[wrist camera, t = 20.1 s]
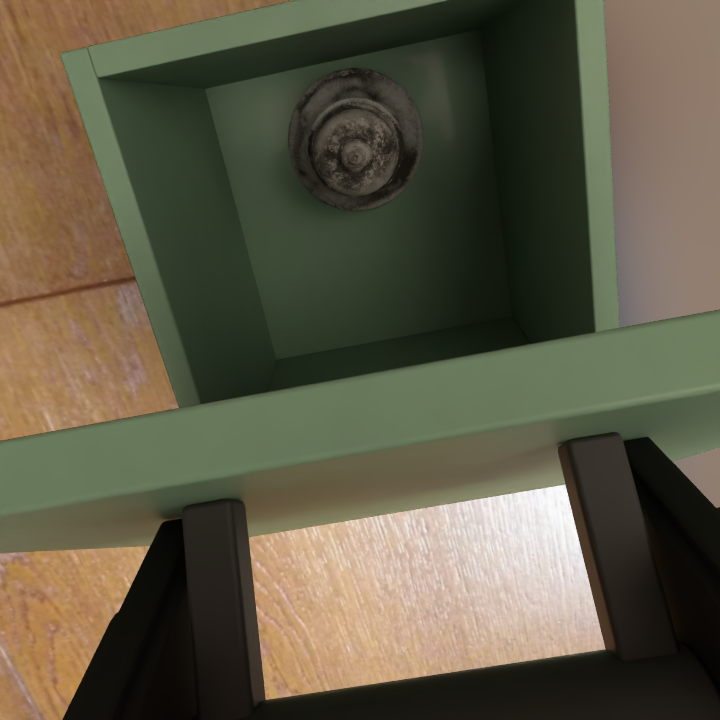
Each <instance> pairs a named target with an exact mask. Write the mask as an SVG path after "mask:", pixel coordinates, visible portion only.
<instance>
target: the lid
mask: <svg viewBox="0 0 720 720" xmlns="http://www.w3.org/2000/svg"><path fill="white" fill-rule="evenodd" d="M643 437H649V438H650V439H651V440H652V441H653V442H654V443H655V444H656V445H657V446H658V447H659V448H660V449H661V450H662V451H663V453H664V454H665V455H666V456H667V457H668V458H669V459H670V460H671V461H675V460H678V459H682V458H685V457H688V456H692V455H695V454H699V453H702V452H705V451H709V450H712V449H715V448H719V447H720V310H715V311H709V312H704V313H698V314H693V315H688V316H682V317H677V318H671V319H665V320H660V321H654V322H649V323H643V324H638V325H632V326H627V327H622V328H616V329H610V330H605V331H599V332H594V333H588V334H583V335H577V336H572V337H566V338H561V339H556V340H550V341H545V342H539V343H534V344H528V345H523V346H517V347H512V348H506V349H501V350H495V351H490V352H484V353H479V354H473V355H468V356H462V357H457V358H451V359H446V360H440V361H435V362H429V363H424V364H419V365H413V366H408V367H402V368H397V369H391V370H386V371H380V372H375V373H369V374H364V375H358V376H353V377H347V378H342V379H336V380H331V381H325V382H320V383H314V384H309V385H303V386H298V387H292V388H287V389H281V390H276V391H271V392H265V393H260V394H254V395H249V396H243V397H238V398H232V399H227V400H221V401H216V402H210V403H205V404H199V405H194V406H188V407H183V408H177V409H172V410H166V411H161V412H155V413H150V414H144V415H139V416H134V417H128V418H123V419H117V420H112V421H106V422H101V423H95V424H90V425H84V426H79V427H73V428H68V429H62V430H57V431H51V432H46V433H40V434H35V435H29V436H24V437H18V438H13V439H7V440H2V441H0V553H13V552H33V551H54V550H74V549H95V548H115V547H136V546H151V544H152V542H153V540H154V538H155V535H156V533H157V531H158V529H159V527H160V525H161V524H162V522H164V521H168V520H174V519H179V518H182V523H183V536H184V549H185V562H186V574H187V587H188V600H189V613H190V626H191V639H192V651H193V664H194V677H195V690H196V703H197V714H196V715H195V716H194V717H193V718H192V719H191V720H720V692H719V690H718V688H717V686H716V684H715V682H714V681H713V679H712V677H711V676H710V674H709V672H708V671H707V669H706V668H705V666H704V665H703V663H702V662H701V660H700V659H699V658H698V656H697V655H696V654H695V653H694V652H693V651H692V650H691V649H690V648H689V647H688V646H687V645H686V644H684V643H683V642H680V641H678V640H677V637H676V633H675V629H674V626H673V622H672V618H671V615H670V611H669V607H668V604H667V600H666V596H665V593H664V589H663V585H662V582H661V578H660V574H659V571H658V567H657V563H656V560H655V556H654V553H653V549H652V545H651V542H650V538H649V534H648V531H647V527H646V523H645V520H644V516H643V512H642V509H641V505H640V501H639V498H638V494H637V490H636V487H635V483H634V479H633V476H632V472H631V468H630V465H629V461H628V458H627V454H626V450H625V447H624V443H623V441H626V440H632V439H637V438H643ZM564 484H566V488H567V492H568V496H569V501H570V505H571V509H572V513H573V517H574V521H575V525H576V529H577V533H578V537H579V542H580V546H581V550H582V554H583V558H584V562H585V566H586V570H587V574H588V578H589V583H590V587H591V591H592V595H593V599H594V603H595V607H596V611H597V615H598V619H599V623H600V628H601V632H602V636H603V640H604V644H605V648H606V650H599V651H592V652H585V653H579V654H572V655H565V656H559V657H552V658H545V659H538V660H532V661H525V662H518V663H512V664H505V665H498V666H492V667H485V668H478V669H471V670H465V671H458V672H451V673H445V674H438V675H431V676H424V677H418V678H411V679H404V680H398V681H391V682H384V683H378V684H371V685H364V686H357V687H351V688H344V689H337V690H331V691H324V692H317V693H310V694H304V695H297V696H290V697H284V698H277V699H270V700H266V699H265V690H264V680H263V671H262V661H261V652H260V642H259V633H258V623H257V614H256V604H255V595H254V585H253V576H252V566H251V557H250V547H249V538H248V537H253V536H259V535H265V534H271V533H277V532H283V531H289V530H295V529H301V528H307V527H313V526H319V525H325V524H331V523H337V522H343V521H349V520H355V519H361V518H367V517H373V516H379V515H385V514H391V513H397V512H403V511H409V510H415V509H421V508H427V507H433V506H439V505H445V504H451V503H457V502H463V501H469V500H475V499H481V498H487V497H493V496H499V495H505V494H511V493H517V492H523V491H529V490H534V489H540V488H546V487H552V486H558V485H564Z"/></svg>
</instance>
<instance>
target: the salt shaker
mask: <svg viewBox="0 0 720 720" xmlns="http://www.w3.org/2000/svg"><path fill="white" fill-rule="evenodd" d="M423 143H424V137H423V129H422V121H421V119H420V116H419V113H418V111H417V108H416V106H415V103H414V102H413V101H412V99H411V98H410V97H409V95H408V94H407V93H406V91H405V90H404V89H403V88H402V87H401V86H400V85H398V84H397V83H396V82H395V81H393V80H392V79H391V78H390V77H388V76H386V75H383V74H381V73H378V72H376V71H373V70H369V69H360V68H349V69H344V70H339V71H334V72H332V73H330V74H328V75H326V76H324V77H322V78H320V79H318V80H317V81H316V82H315V83H314V84H313V85H312V86H311V87H310V88H309V89H308V90H306V91H305V92H304V94H303V95H302V97H301V99H300V100H299V102H298V103H297V105H296V107H295V108H294V111H293V115H292V118H291V121H290V124H289V133H288V148H289V153H290V158H291V163H292V165H293V167H294V170H295V172H296V174H297V176H298V178H299V180H300V181H301V182H302V184H303V185H304V186H305V187H306V188H307V189H308V191H309V192H310V193H311V194H312V195H314V196H315V197H316V198H318V199H319V200H321V201H322V202H323V203H325V204H327V205H330V206H332V207H335V208H338V209H340V210H348V211H364V210H370V209H375V208H378V207H380V206H382V205H384V204H386V203H388V202H390V201H392V200H393V199H394V198H395V197H397V196H398V195H399V194H400V193H401V192H403V191H404V190H405V189H406V187H407V186H408V184H409V183H410V182H411V180H412V179H413V177H414V176H415V174H416V171H417V169H418V166H419V164H420V161H421V158H422V151H423Z"/></svg>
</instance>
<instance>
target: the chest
mask: <svg viewBox="0 0 720 720" xmlns="http://www.w3.org/2000/svg"><path fill="white" fill-rule="evenodd" d="M61 58H62V61H63V64H64V67H65V70H66V73H67V76H68V79H69V82H70V85H71V88H72V91H73V94H74V97H75V100H76V103H77V106H78V109H79V112H80V115H81V118H82V121H83V124H84V127H85V130H86V133H87V136H88V139H89V142H90V145H91V148H92V151H93V154H94V157H95V160H96V162H97V165H98V168H99V171H100V174H101V177H102V180H103V183H104V186H105V189H106V192H107V195H108V198H109V201H110V204H111V207H112V210H113V213H114V216H115V219H116V222H117V225H118V228H119V231H120V234H121V237H122V240H123V243H124V246H125V249H126V252H127V255H128V258H129V261H130V264H131V266H132V269H133V272H134V275H135V278H136V281H137V284H138V287H139V290H140V293H141V296H142V299H143V302H144V305H145V308H146V311H147V314H148V317H149V320H150V323H151V326H152V329H153V332H154V335H155V338H156V341H157V344H158V347H159V350H160V353H161V356H162V359H163V362H164V365H165V368H166V370H167V373H168V376H169V379H170V382H171V385H172V388H173V391H174V394H175V397H176V400H177V403H178V406H179V408H183V407H188V406H194V405H199V404H205V403H210V402H216V401H221V400H227V399H232V398H238V397H243V396H249V395H254V394H260V393H265V392H271V391H276V390H281V389H287V388H292V387H298V386H303V385H309V384H314V383H320V382H325V381H331V380H336V379H342V378H347V377H353V376H358V375H364V374H369V373H375V372H380V371H386V370H391V369H397V368H402V367H408V366H413V365H419V364H424V363H429V362H435V361H440V360H446V359H451V358H457V357H462V356H468V355H473V354H479V353H484V352H490V351H495V350H501V349H506V348H512V347H517V346H523V345H528V344H534V343H539V342H545V341H550V340H556V339H561V338H566V337H572V336H577V335H583V334H588V333H594V332H599V331H605V330H610V329H616V328H619V308H618V287H617V267H616V266H617V265H616V245H615V223H614V200H613V179H612V158H611V137H610V114H609V92H608V70H607V49H606V27H605V7H604V0H293V1H289V2H284V3H280V4H275V5H271V6H266V7H262V8H257V9H253V10H248V11H244V12H239V13H235V14H231V15H226V16H222V17H217V18H213V19H208V20H204V21H199V22H195V23H190V24H186V25H181V26H177V27H173V28H168V29H164V30H159V31H155V32H150V33H146V34H141V35H137V36H132V37H128V38H124V39H119V40H115V41H110V42H106V43H101V44H97V45H92V46H89V47H88V48H86V47H84V48H80V49H75V50H71V51H66V52H62V53H61ZM349 68H360V69H369V70H373V71H376V72H378V73H381V74H383V75H386V76H388V77H390V78H391V79H392V80H393V81H395V82H396V83H397V84H398V85H400V86H401V87H402V88H403V89H404V90H405V91H406V93H407V94H408V95H409V97H410V98H411V99H412V101H413V102H414V103H415V106H416V108H417V111H418V113H419V116H420V119H421V121H422V129H423V137H424V143H423V151H422V158H421V161H420V164H419V166H418V169H417V171H416V174H415V176H414V177H413V179H412V180H411V182H410V183H409V184H408V186H407V187H406V189H405V190H404V191H403V192H401V193H400V194H399V195H398V196H397V197H395V198H394V199H393V200H392V201H390V202H388V203H386V204H384V205H382V206H380V207H378V208H375V209H370V210H364V211H348V210H340V209H338V208H335V207H332V206H330V205H327V204H325V203H323V202H322V201H321V200H319V199H318V198H316V197H315V196H314V195H312V194H311V193H310V192H309V191H308V189H307V188H306V187H305V186H304V185H303V184H302V182H301V181H300V180H299V178H298V176H297V174H296V172H295V170H294V167H293V165H292V163H291V158H290V153H289V148H288V133H289V124H290V121H291V118H292V115H293V111H294V108H295V107H296V105H297V103H298V102H299V100H300V99H301V97H302V95H303V94H304V92H305V91H306V90H308V89H309V88H310V87H311V86H312V85H313V84H314V83H315V82H316V81H317V80H318V79H320V78H322V77H324V76H326V75H328V74H330V73H332V72H334V71H339V70H344V69H349Z"/></svg>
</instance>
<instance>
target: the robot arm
mask: <svg viewBox="0 0 720 720" xmlns="http://www.w3.org/2000/svg"><path fill="white" fill-rule="evenodd" d="M623 443H624V447H625V450H626V454H627V458H628V461H629V465H630V468H631V472H632V476H633V479H634V483H635V487H636V490H637V494H638V498H639V501H640V505H641V509H642V512H643V516H644V520H645V523H646V527H647V531H648V534H649V538H650V542H651V545H652V549H653V553H654V556H655V560H656V563H657V567H658V571H659V574H660V578H661V582H662V585H663V589H664V593H665V596H666V600H667V604H668V607H669V611H670V615H671V618H672V622H673V626H674V629H675V633H676V637H677V640H678V641H680V642H683V643H684V644H686V645H687V646H688V647H689V648H690V649H691V650H692V651H693V652H694V653H695V654H696V655H697V656H698V658H699V659H700V660H701V662H702V663H703V665H704V666H705V668H706V669H707V671H708V672H709V674H710V676H711V677H712V679H713V681H714V682H715V684H716V686H717V688H718V690H719V692H720V507H719V508H716V507H715V506H714V505H713V504H712V503H711V502H710V501H709V500H708V499H707V498H706V497H705V496H704V495H703V494H702V493H701V492H700V490H699V489H698V488H697V487H696V486H695V485H694V484H693V483H692V482H691V481H690V480H689V479H688V478H687V477H686V476H685V475H684V474H683V473H682V472H681V470H680V469H679V468H677V466H676V465H675V464H674V463H673V462H672V461H671V460H670V459H669V458H668V457H667V456H666V455H665V454H664V453H663V451H662V450H661V449H660V448H659V447H658V446H657V445H656V444H655V443H654V442H653V441H652V440H651V439H650V438H649V437H643V438H637V439H632V440H626V441H623ZM196 714H197V703H196V690H195V677H194V664H193V651H192V639H191V626H190V613H189V600H188V587H187V574H186V562H185V549H184V536H183V523H182V518H179V519H174V520H168V521H164V522H162V524H161V525H160V527H159V529H158V531H157V533H156V535H155V538H154V540H153V542H152V544H151V546H150V548H149V550H148V552H147V554H146V556H145V558H144V560H143V562H142V565H141V567H140V569H139V571H138V573H137V575H136V577H135V579H134V581H133V583H132V585H131V587H130V590H129V592H128V594H127V596H126V598H125V600H124V602H123V604H122V606H121V608H120V610H119V612H118V613H117V614H115V616H114V617H113V619H112V620H111V621H110V623H109V625H108V627H107V629H106V632H105V634H104V636H103V638H102V640H101V642H100V644H99V646H98V648H97V650H96V652H95V654H94V656H93V658H92V660H91V662H90V664H89V666H88V668H87V671H86V673H85V675H84V677H83V679H82V681H81V683H80V685H79V687H78V689H77V691H76V693H75V695H74V697H73V699H72V701H71V703H70V705H69V707H68V709H67V712H66V714H65V716H64V718H63V720H191V719H192V718H193V717H194V716H195V715H196Z"/></svg>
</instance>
